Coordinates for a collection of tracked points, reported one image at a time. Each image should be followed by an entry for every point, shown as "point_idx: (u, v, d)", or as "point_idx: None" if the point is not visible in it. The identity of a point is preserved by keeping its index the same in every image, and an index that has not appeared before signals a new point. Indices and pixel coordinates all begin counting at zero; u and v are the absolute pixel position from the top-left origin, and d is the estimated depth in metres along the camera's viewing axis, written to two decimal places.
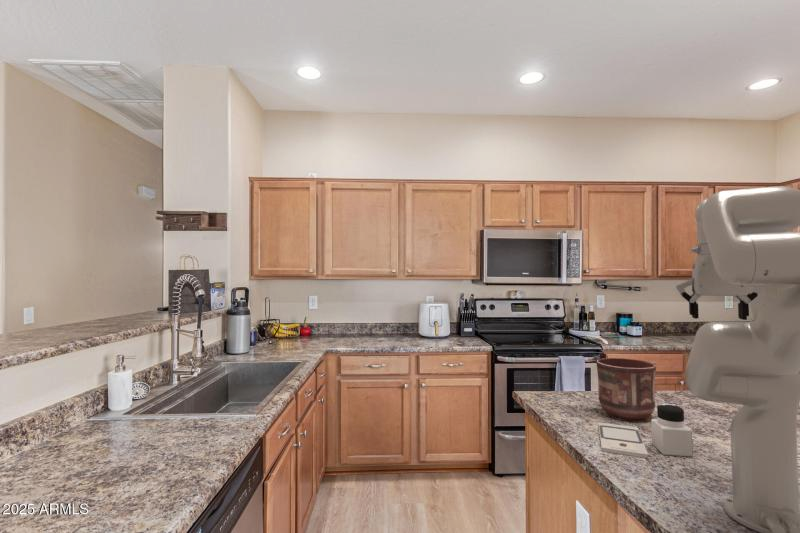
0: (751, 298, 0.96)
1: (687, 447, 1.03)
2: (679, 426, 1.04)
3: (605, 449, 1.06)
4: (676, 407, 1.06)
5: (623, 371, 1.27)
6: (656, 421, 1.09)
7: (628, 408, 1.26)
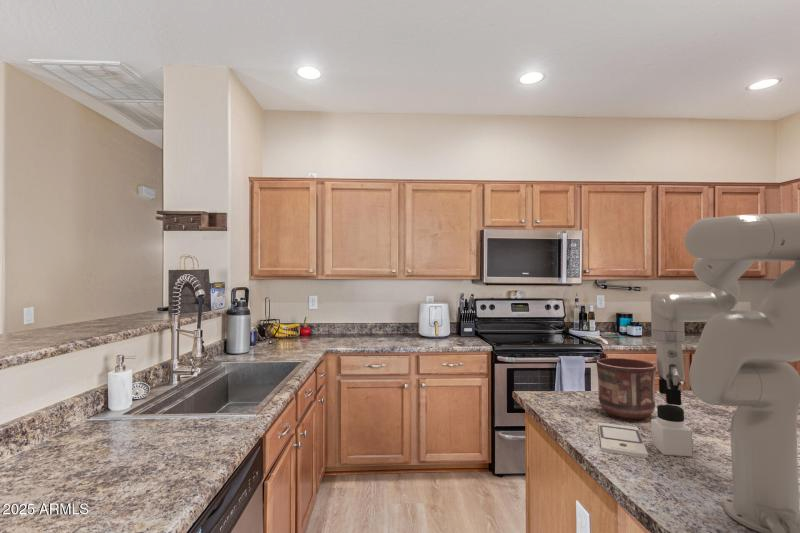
0: None
1: (687, 447, 1.03)
2: (679, 426, 1.04)
3: (605, 449, 1.06)
4: (676, 407, 1.06)
5: (623, 371, 1.27)
6: (656, 421, 1.09)
7: (628, 408, 1.26)
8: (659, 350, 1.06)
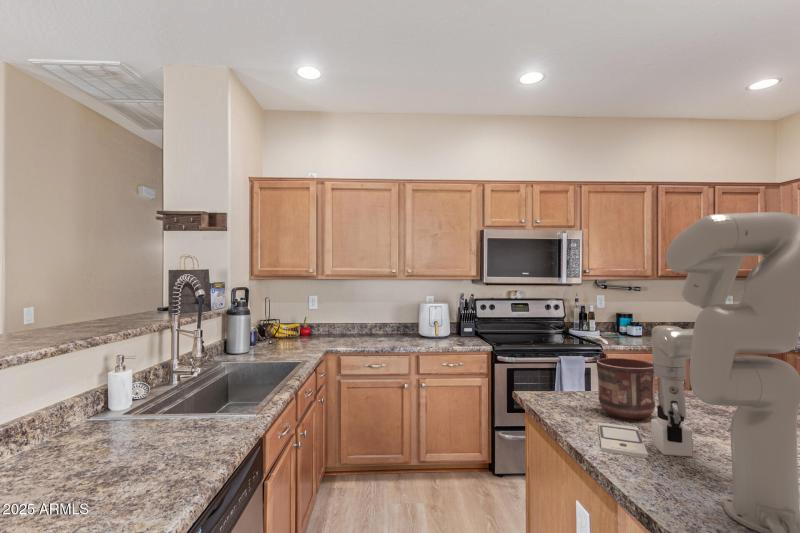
0: None
1: (687, 447, 1.03)
2: None
3: (605, 449, 1.06)
4: None
5: (623, 371, 1.27)
6: (656, 421, 1.09)
7: (628, 408, 1.26)
8: (660, 385, 1.06)
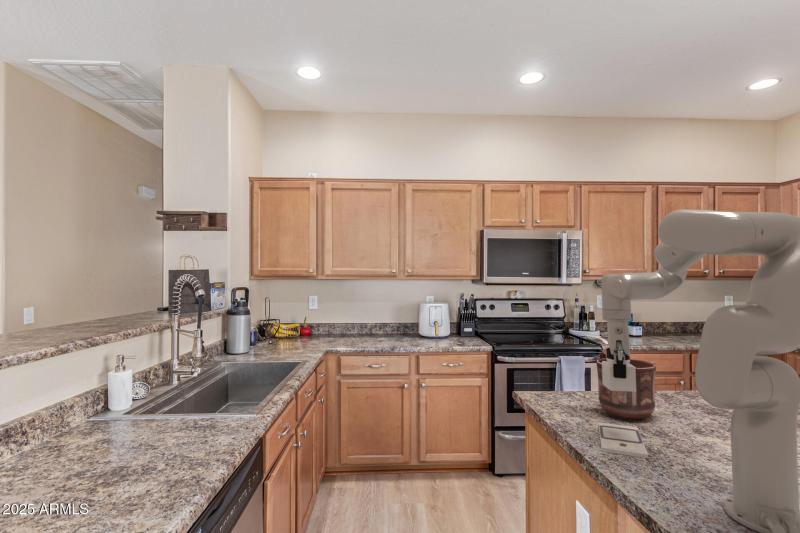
0: None
1: (632, 383, 1.12)
2: None
3: (605, 449, 1.06)
4: None
5: None
6: (605, 362, 1.17)
7: (629, 407, 1.26)
8: (608, 328, 1.15)
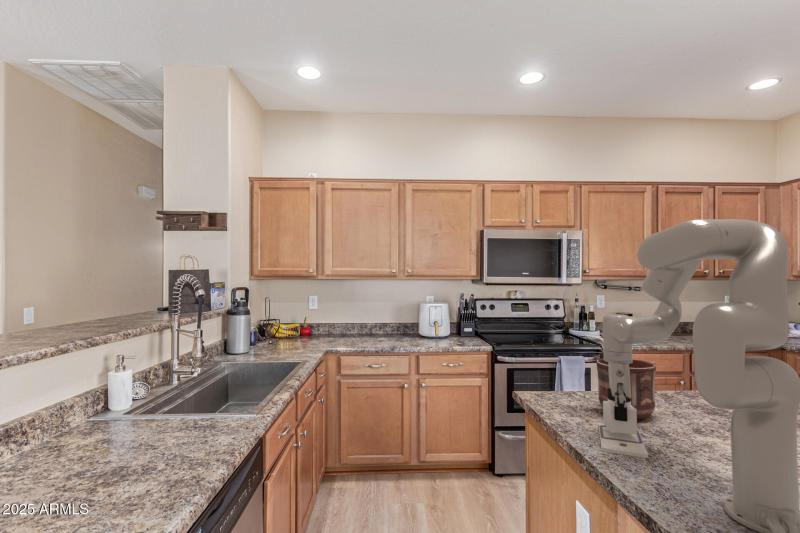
0: None
1: (633, 426, 1.11)
2: (626, 406, 1.13)
3: (605, 449, 1.06)
4: None
5: None
6: (606, 402, 1.17)
7: None
8: (609, 369, 1.15)
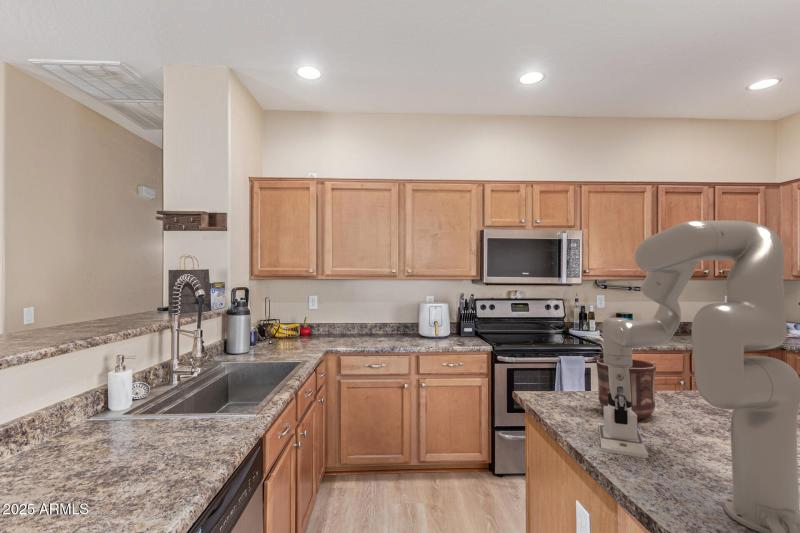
0: None
1: (633, 431, 1.11)
2: None
3: (605, 449, 1.06)
4: None
5: None
6: (607, 408, 1.17)
7: None
8: (609, 372, 1.15)
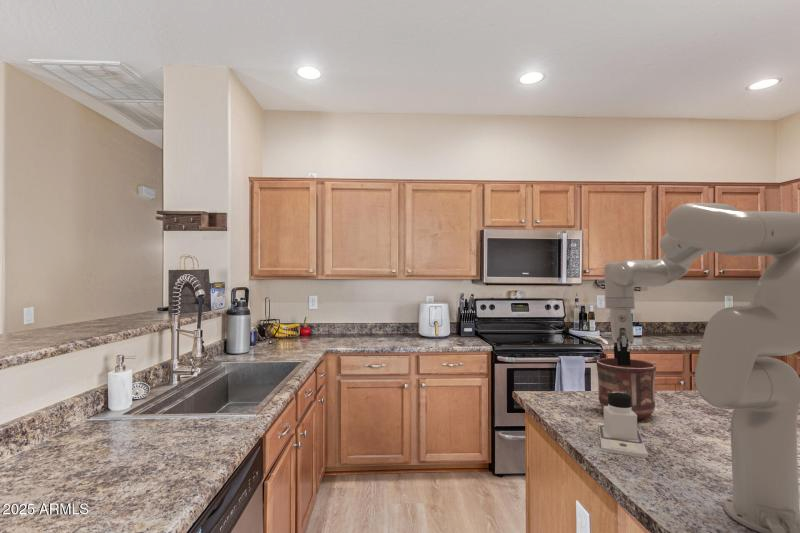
0: None
1: (633, 431, 1.11)
2: (626, 412, 1.12)
3: (605, 449, 1.06)
4: (624, 394, 1.14)
5: (623, 371, 1.27)
6: (607, 408, 1.17)
7: None
8: (611, 316, 1.14)
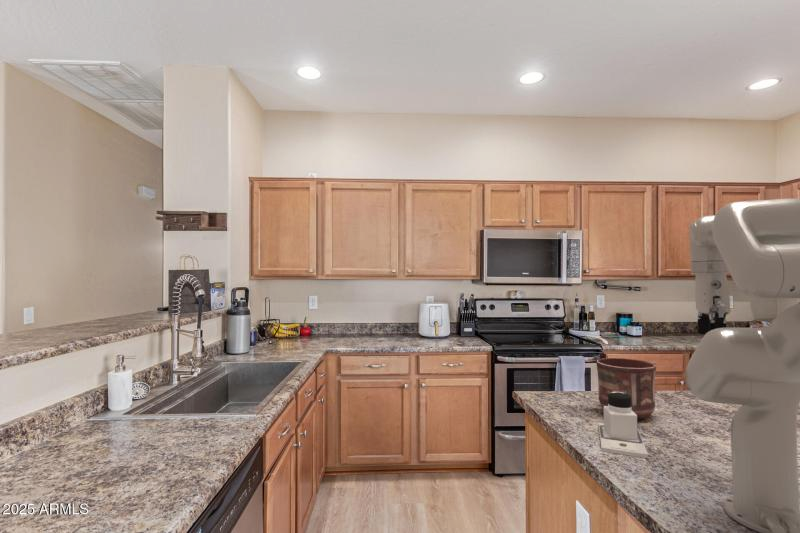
0: None
1: (633, 431, 1.11)
2: (626, 412, 1.12)
3: (605, 449, 1.06)
4: (624, 394, 1.14)
5: (623, 371, 1.27)
6: (607, 408, 1.17)
7: None
8: (700, 283, 0.97)
